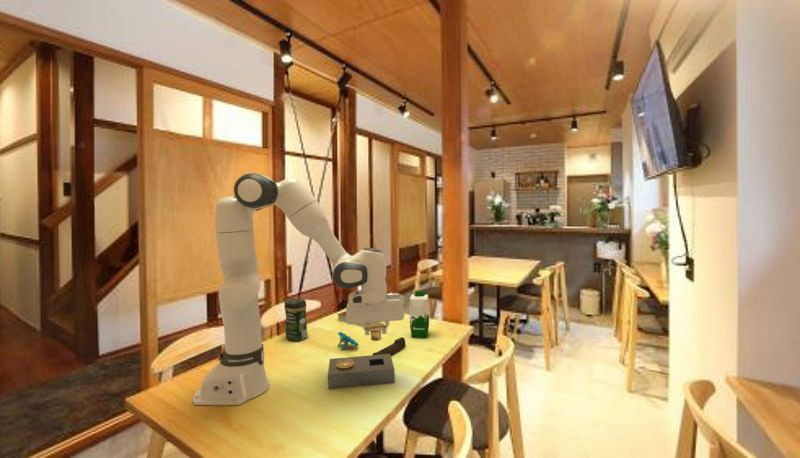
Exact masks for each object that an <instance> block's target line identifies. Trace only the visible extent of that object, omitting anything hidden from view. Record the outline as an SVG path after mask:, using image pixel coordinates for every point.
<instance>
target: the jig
mask: <svg viewBox="0 0 800 458" xmlns="http://www.w3.org/2000/svg"><path fill="white" fill-rule="evenodd" d="M392 359H393V358H392V354H391V355H390V354H381V355H373V354H372V355H359V356H358V355H357V356H350V357H349V356H348V357H339V358H337V357H336V358H335V357H334V358H329V363H328V371H327V382H328V383H327V385H328V388H327V389H328V390H334V389H335V390H336V389H346V388H356V387H357V388H358V387H367V386H376V385H385V384H387V385H389V384H394V383H396V381H395V380H396V379H395V366H394V363H393V360H392Z"/></svg>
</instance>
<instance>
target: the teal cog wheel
mask: <svg viewBox="0 0 800 458" xmlns="http://www.w3.org/2000/svg"><path fill="white" fill-rule="evenodd" d="M337 334H338V336H339V342H338V344H337V347H340V346H341V344H342V343H343V345H342V346H341V348H340V350H342V351H343V350H344V349H345V347H346V345H348V344H351V345H354V346H355V347H359V345H360V344H359V342H357V341H356V340H355V339H353V338H351V336H349V335H347V334H346V333H345V332H344V333H343V332H342V331H338V332H337Z"/></svg>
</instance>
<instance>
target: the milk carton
mask: <svg viewBox="0 0 800 458" xmlns="http://www.w3.org/2000/svg"><path fill="white" fill-rule="evenodd" d="M424 293H425V292H424V290H421V289H416V290H414V294H411V295H410V297H409V302H408V305H409V327H410V335H411V338H414V339H417V338H418V339H427V338H428V335H429V334H428V333H429V328H430V303H429V294H424Z"/></svg>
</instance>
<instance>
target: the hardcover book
mask: <svg viewBox="0 0 800 458" xmlns="http://www.w3.org/2000/svg"><path fill="white" fill-rule="evenodd" d="M336 315H337V318H338V319H337V320H338V321H339V322H343V323H346V310H345V311H342V312H340V313H337V314H336ZM372 323H379V322H372ZM368 324H371V323H366V326H367V325H368ZM354 325H356V326H360V327H362V325H361V323H359V324H354ZM366 326H365V327H366Z"/></svg>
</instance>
